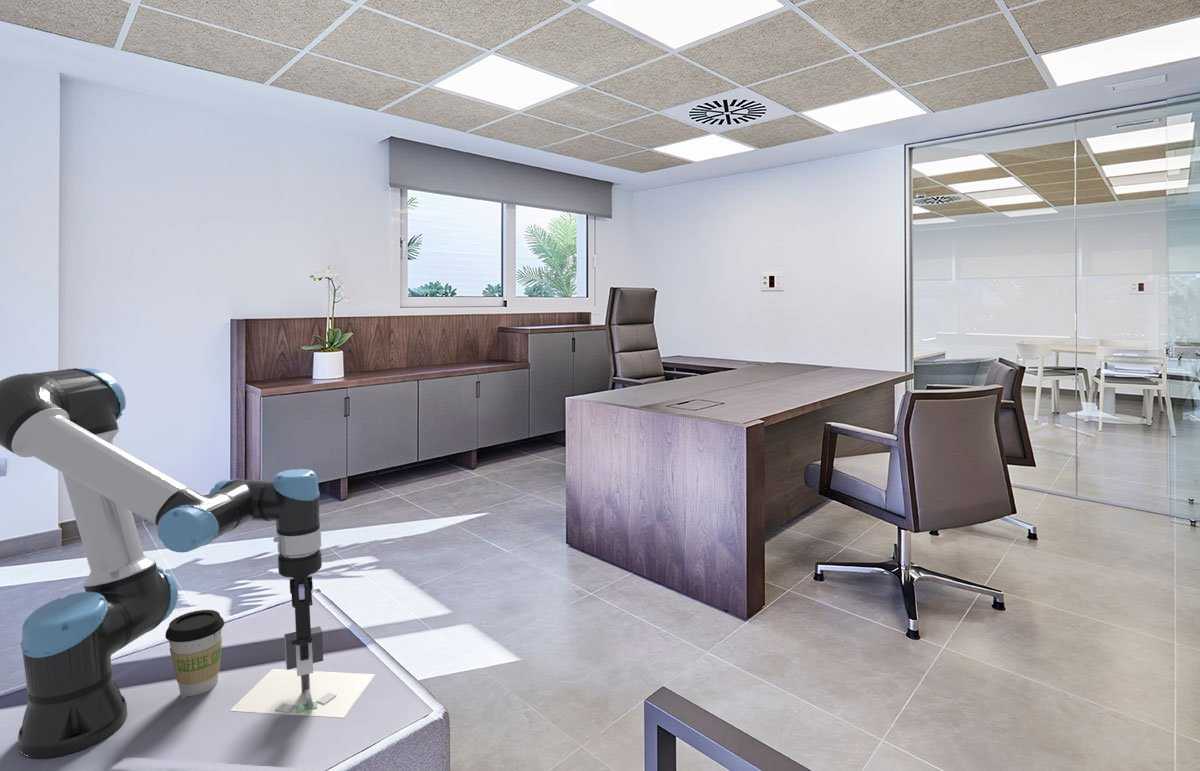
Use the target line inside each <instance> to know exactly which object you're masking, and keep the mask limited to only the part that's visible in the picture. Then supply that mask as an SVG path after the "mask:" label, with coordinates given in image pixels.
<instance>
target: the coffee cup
mask: <svg viewBox="0 0 1200 771" xmlns="http://www.w3.org/2000/svg"><path fill="white" fill-rule="evenodd" d="M224 626H225V620H224V618H223V617H222V616H221V614H220V612H219V611H217V610H214V609H201V610H194V611H190V612H187V613H186V612H185V613H183V614H181V615H178V616H176V617H175V618H174V619H172V620H171V621H170V622H169V624H168V627H167V629H166V631H165V635H164V636H165V639H166V640H168V643H169V651H170V656H171V661H172V666H173V669H174V674H175V679H176V682H177V685H178V687H179V688H178V689H179V693H180V698H181V699H182V700H185V698H187V697H189V696H197V695H202V694H205V693H207V692H208V691H211V690H212V689H214V688H215V687H216V686H217V685H218V682H219V672H220V668H221V654H222V642H223V636H222V629H223V628H224Z"/></svg>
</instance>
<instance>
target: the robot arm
mask: <svg viewBox="0 0 1200 771" xmlns="http://www.w3.org/2000/svg"><path fill="white" fill-rule="evenodd" d="M126 402H127V400H126V395H125V392H124V390H123V388H122V386H121V385H120V383H119V382H118V381H117V380H116V378H114V377H113V376H112V375H109V374H108V373H106V372H105V371H103V370H100V369H96V368H91V367H90V368H85V367H84V368H78V367H75V368H66V369H59V370H51V371H41V372H33V373H32V372H31V373H21V374H15V375H11V376H7V377H6V378H2V379H1V380H0V446H1V447H3V448H4V449H6V450H7V451H9V452H11V453H12V454H15V455H16V456H18V457H22V458H32V457H34V458H36V459H37V460H39V461H40V462H43V463H45V464H46V465H48V466H50V467H52V468H53V469H55V470H57V471H59V472H61V473H62V477H63V480H64V485H65V486H66V490H67V493H68V498H69V502H70V503H71V504H70V505H71V508H72V511H73V515H74V518H75V522H76V526H77V528H78V533H79V535H80V540H81V543H82V547H83V549H84V553H85V556H86V559H87V564H88V567H89V570H90V572H89V574H88V576H87V577H86V579H85V580H84V582H83V584H82V585H83V588H84V590H85V591H82V592H76V593H71V594H68V595H67V596H65V597H62V598H61V597H58V598H56V599H52V600H51V601H49V602H47V603H45V604H43V605H42V606H40V607H38V608H36V609H35V610H34V611H32V612H31V613H30V614H29V615H28V616H27V618H26V619H25V620H24V622H23V624H22V627H21V628H22V629H21V637H22V638H21V642H20V648H21V652H22V657H23V664H24V665H23V666H24V675H25V681H26V691H27V692H26V693H27V705H26V708H25V711H24V716H23V719H22V724H21V727H20V728H19V731H18V734H17V744H18V750H20V751H21V752H22V753H23V754H25V755H28V756H30V757H29V758H31V757H37V758H36V759H48V758H56V757H61V756H65V755H69V754H73V753H77V752H79V751H81V750H84V749H86V748H88V747H91V746H93V745H95V744H98V743H99V742H101V741H103V740H104V739H106V738H108V737H109V736H111V735H112V734H114V733H115V732H116V731H117V730H118V729H119V728H121V727H122V725H123V724H124V723H125V721H126V720H127V717H128V705H127V704H128V703H127V701H126V699H125V697H124V695H122V693H121V690H120V688H119V687H118V685H117V683H116V681H115V680H114V678H113V668H112V655H113V654H116V652H118V651H120V650H122V649H123V648H125V647H126V646H128V645H129V644H131V643H132V642H134V641H136V640H137V639H139V638H141V637H143V636H144V635H145V634H147V633H149V632H151V631H152V630H154V629H156V628H157V627H158V626H160V624H161V623H163V622H164V621H166V620H167V619H168V618H169V617H170V616H171V615H172V613H173V611H175V608H176V606H177V604H178V599H179V589H178V584H177V582H176V579H175V578H174V576H173V575H172V574H169V573H167V572H168V571H167V570H166V569H164V568H162V567H160V566H157V562H156V559H153V558H151V557H148V556H146V555H145V554H144V551H143V546H142V543H141V539H140V535H139V532H138V529H137V526H136V522H135V518H134V515H133V513H134V514H136V515H137V516H139V517H140V518H142V519H144V520H146V521H148V522H149V523H151V524H154V525H155V526H157V527H156V533H157V536H158V539H159V540H160V541H161V542H162V544H163V546H164V547H165V548H166V549H168V550H170V551H172V552H175V553H189V552H190V551H194V550H196V549H198V548H202V547H204V546H207V545H209V544H211V543H212V542H213V541H214V540H217V538H219V537H222V536H223V535H225V534H227V533H229V532H232V531H233V530H235V529H237V528H239V527H241V526H243V525H244V524H246V523H248V522H253V521H257V522H275V525H276V528H275V529H276V536H274V537H273V542H274V543H277V553H278V555H277V564H278V565H277V566H278V567H277V568H278V574H279V575H280V576H282V577H284V578H289V593H290V595H291V607H292V608H294V619H295V620H294V622H295V624H294V625H295V632H296V640H294V641H292V645H296V662H297V668H296V670H297V676H301V675H306V674H311V673H313V671H314V663H313V656H312V637H311V628H312V627H311V608H310V606H313V604H314V603H313V595H312V594H313V592H312V591H313V590H314V589H313V588H314V586H313V584H314V583H313V576H312V575H313V574H315V573H317V572H319V571H320V570H321V568H322V565H323V564H322V562H323V561H322V550H321V547H322V533H321V525H320V524H321V522H320V495H321V493H320V490H319V480H318V475H317V474H316V472H315V471H314V470H312V469H305V468H298V469H287V470H283V471H280V472H278V473H276V474H275V476H273V480H256V479H254V480H253V479H244V478H243V479H241V478H235V479H224V480H223V479H222V480H220V481H218V482H217V483H215V485H214V486H213V488H211V490H210V491H209V494H207V495H203V494H200V493H199V492H197V491H196V490H193V489H191V488H189V487H188V486H186V485H184V484H183V483H181V482H179V481H177V480H175V479H174V478H172V477H170V476H168V475H167V474H165V473H163V472H161V471H159V470H158V469H156V468H155V467H153V466H151V465H149V464H147V463H146V462H144V461H142V460H140V459H138V458H136V457H135V456H133V455H131V454H129V453H128V452H127V451H125V450H123V449H120V447H117V446H115V445H114V443H113V441H114V438H115V437H116V435H117V434H118V433H119V432H120V429H119V426H118V425H119V424H118V420H119V419H120V418H121V416H123V414H124V410H125V409H126V406H127V404H126ZM20 751H19V752H20ZM21 752H20V753H21ZM23 754H22V755H23Z"/></svg>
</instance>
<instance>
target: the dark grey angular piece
mask: <svg viewBox="0 0 1200 771" xmlns="http://www.w3.org/2000/svg"><path fill="white" fill-rule="evenodd" d="M322 630H323V629H322V627H321V626H319V625H318V626H315V627H311V637H312V656H313V664H315V663H316V664H317V663H320V662H324V648H323V647H324V646H323V645H324V644H323V631H322ZM283 634H284V636H283V637H284V652H285V653H284V654H285V656H284V657H285V665H286V670H294V669H297V662H296V645H292V641H294V640H296V631H293V632H287V633H283ZM301 688H302V693H304V694H305V698H306V702H307V706H308V709H309V708H313V701H312V698H311V694H310V677H309V674H306V675H301Z"/></svg>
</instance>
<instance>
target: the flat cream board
mask: <svg viewBox="0 0 1200 771" xmlns="http://www.w3.org/2000/svg"><path fill="white" fill-rule="evenodd" d="M375 676H376V674H375V673H373V674H372V673H356V672H355V673H353V672H340V671H339V672H338V671H337V672H335V671H320V670H319V671H318V670H317V671H316V670H313V673H311V674H309V677H310V694H311V698H312V701H313V708H309V709H308V706H307V702H306V698H305V694H304V693H302V688H301V676H297V669H289V670H287V669H284V668H283V669H282V668H281V669H280V668H272V669H271V670H270V671H269V672H267V674H266V675H265V676H264V677H262V678H261V679H260V680H259V681H258V682H257V683H256V684H255V685H254V686H253V687H252V688H251V689H250V690H249V691H248V692H247V693H246V694H245V695H244V696H242V698H241V699H240V700H239V701H238V702H237V703H236V704H235V705H233V707H231V709H230V710H229V712H238V713H239V712H240V713H253V714H257V713H258V714H272V715H275V714H276V715H288V716H289V715H291V716H292V715H293V716H308V717H324V718H340V719H344V717H345V716H346V715H347V714H348V712H349V711H350V710H351V708H353V706H354V704H355V703H356V702H357V701H358V699H359V697H360V696H361V695H362V693H363V692H364V691H365V689H366V688H367V686H368V685H369V684H370V683H371V681H372V680H373V679H374V677H375Z"/></svg>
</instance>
